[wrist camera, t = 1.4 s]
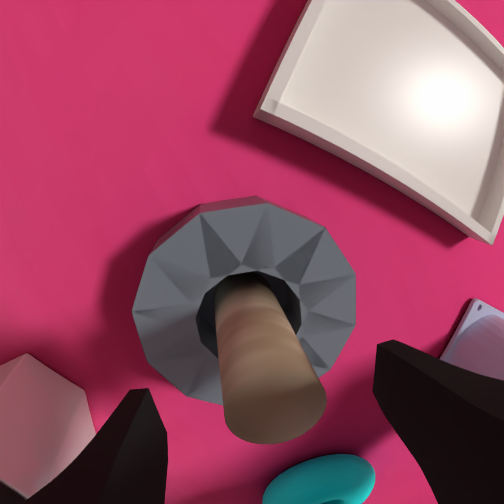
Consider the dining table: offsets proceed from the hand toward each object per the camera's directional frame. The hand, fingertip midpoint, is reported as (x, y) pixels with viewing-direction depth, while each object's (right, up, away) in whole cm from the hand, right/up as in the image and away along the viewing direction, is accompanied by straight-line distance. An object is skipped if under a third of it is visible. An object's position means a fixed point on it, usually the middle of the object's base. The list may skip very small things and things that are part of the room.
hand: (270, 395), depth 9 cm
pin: (-1, +2, +7) cm, 8 cm away
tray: (+9, +14, +6) cm, 18 cm away
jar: (-15, -6, +8) cm, 18 cm away
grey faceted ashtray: (-1, +2, +8) cm, 8 cm away
